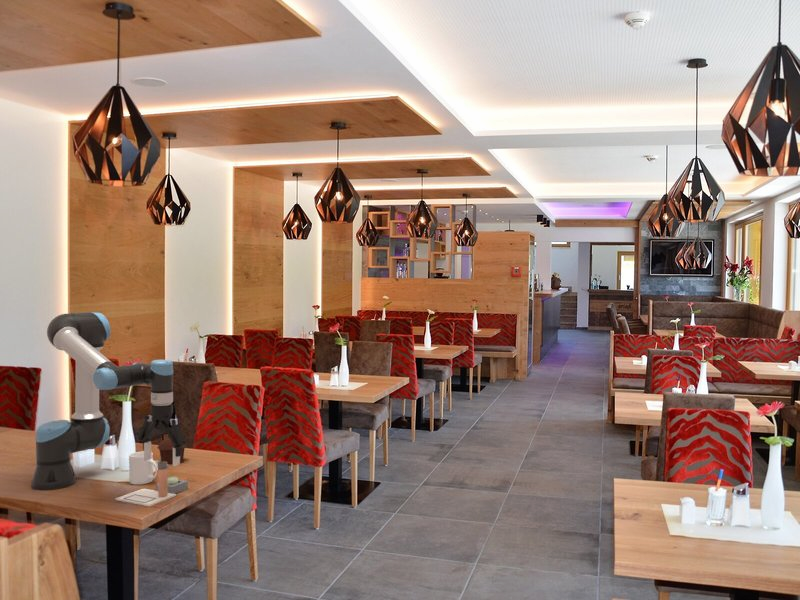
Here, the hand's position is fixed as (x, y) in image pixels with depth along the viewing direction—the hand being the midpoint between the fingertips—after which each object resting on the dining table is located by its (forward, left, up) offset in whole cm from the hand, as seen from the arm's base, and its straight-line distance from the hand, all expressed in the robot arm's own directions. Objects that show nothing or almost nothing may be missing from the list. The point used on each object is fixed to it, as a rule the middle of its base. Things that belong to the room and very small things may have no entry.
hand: (161, 462), depth 252 cm
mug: (-20, +11, -13) cm, 26 cm away
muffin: (-32, +38, -13) cm, 51 cm away
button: (-3, +7, -11) cm, 14 cm away
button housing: (-3, +7, -13) cm, 15 cm away
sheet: (-5, -3, -13) cm, 14 cm away
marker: (+1, 0, -12) cm, 12 cm away
